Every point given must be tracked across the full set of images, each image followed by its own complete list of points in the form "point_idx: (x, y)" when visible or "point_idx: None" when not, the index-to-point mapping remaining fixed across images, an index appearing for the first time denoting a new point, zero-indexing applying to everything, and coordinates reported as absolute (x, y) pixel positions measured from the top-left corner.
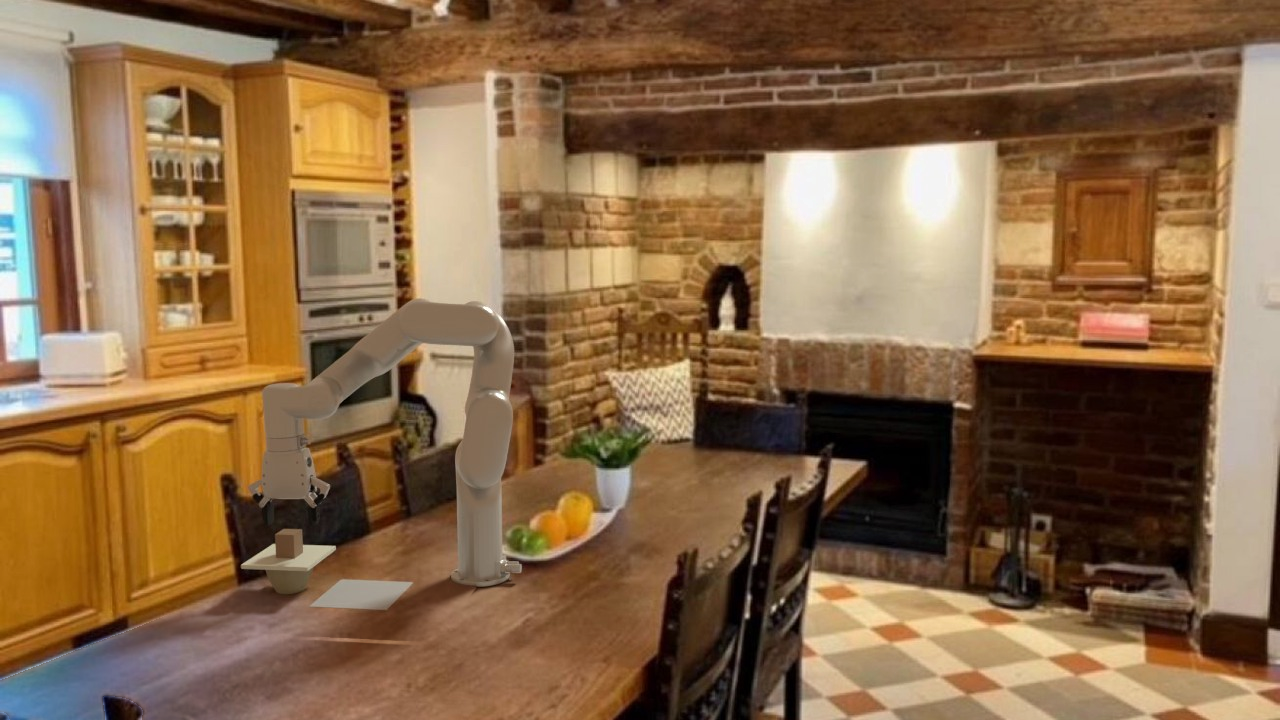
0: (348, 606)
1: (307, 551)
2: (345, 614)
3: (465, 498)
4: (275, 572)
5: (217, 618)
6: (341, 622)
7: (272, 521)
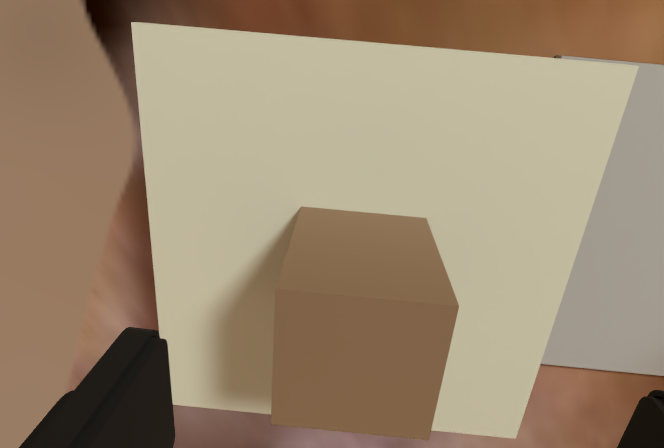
0: (625, 359)
1: (449, 196)
2: (611, 387)
3: None
4: None
5: (211, 408)
6: (604, 438)
7: (162, 383)
